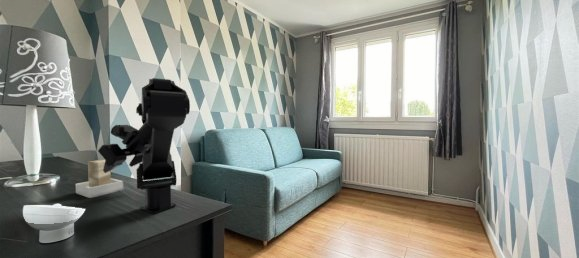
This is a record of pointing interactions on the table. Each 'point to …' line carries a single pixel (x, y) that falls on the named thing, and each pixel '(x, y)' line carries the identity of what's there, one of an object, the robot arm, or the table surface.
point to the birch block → (98, 173)
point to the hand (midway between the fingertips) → (118, 168)
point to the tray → (98, 188)
